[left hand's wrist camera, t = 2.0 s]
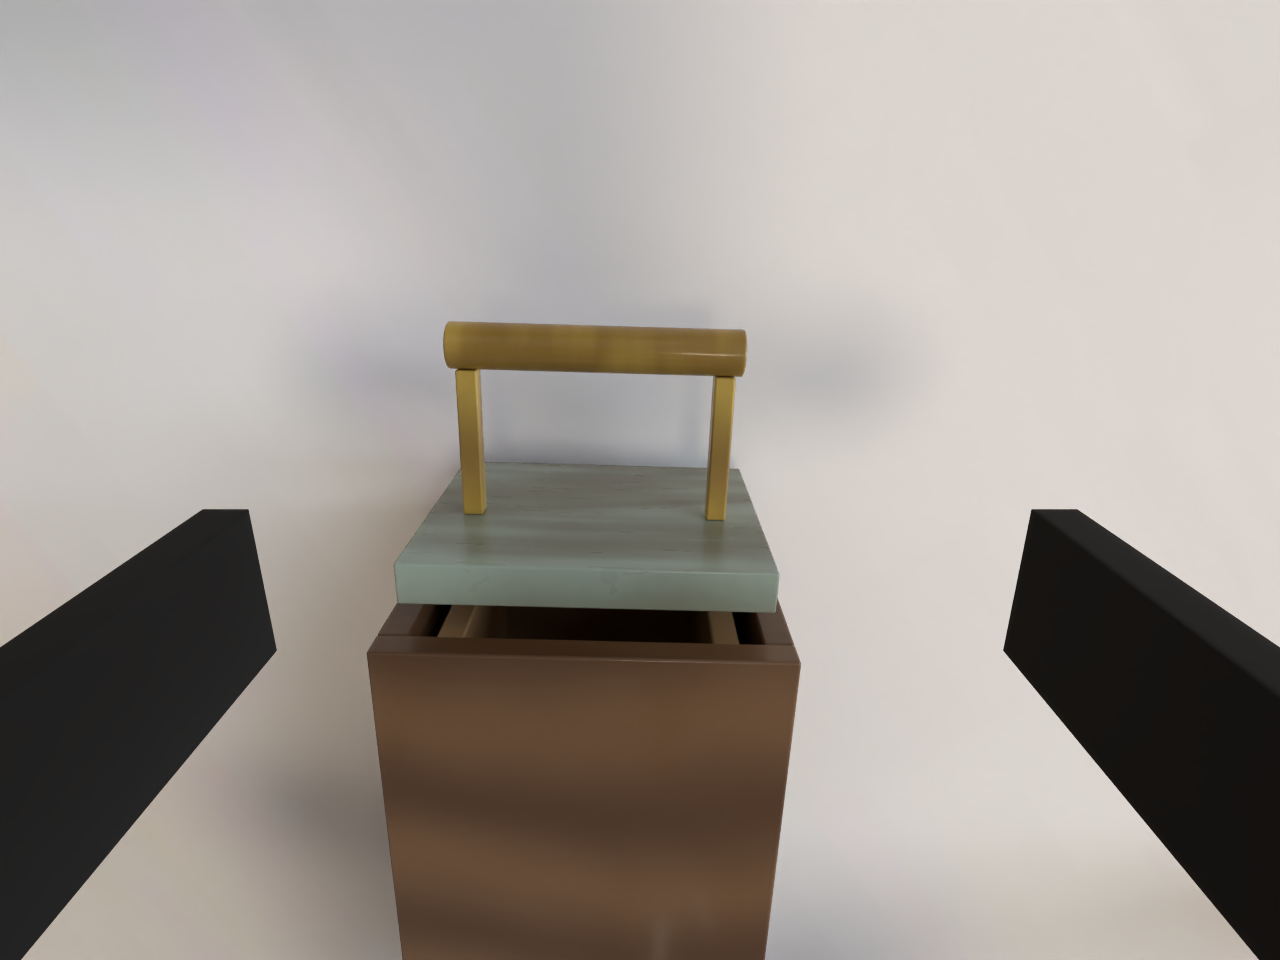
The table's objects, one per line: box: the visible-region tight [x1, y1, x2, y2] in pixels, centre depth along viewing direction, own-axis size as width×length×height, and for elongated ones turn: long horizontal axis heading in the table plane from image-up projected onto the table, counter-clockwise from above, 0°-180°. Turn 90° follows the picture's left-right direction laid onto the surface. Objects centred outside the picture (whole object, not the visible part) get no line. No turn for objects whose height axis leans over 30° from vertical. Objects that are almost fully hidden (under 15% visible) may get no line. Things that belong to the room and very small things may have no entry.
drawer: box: [394, 321, 780, 644], centre depth 25 cm, size 25×10×8 cm, turn 178°
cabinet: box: [367, 598, 801, 960], centre depth 27 cm, size 20×11×10 cm, turn 178°
